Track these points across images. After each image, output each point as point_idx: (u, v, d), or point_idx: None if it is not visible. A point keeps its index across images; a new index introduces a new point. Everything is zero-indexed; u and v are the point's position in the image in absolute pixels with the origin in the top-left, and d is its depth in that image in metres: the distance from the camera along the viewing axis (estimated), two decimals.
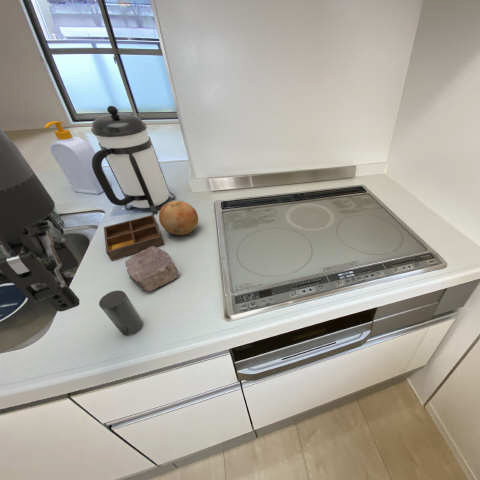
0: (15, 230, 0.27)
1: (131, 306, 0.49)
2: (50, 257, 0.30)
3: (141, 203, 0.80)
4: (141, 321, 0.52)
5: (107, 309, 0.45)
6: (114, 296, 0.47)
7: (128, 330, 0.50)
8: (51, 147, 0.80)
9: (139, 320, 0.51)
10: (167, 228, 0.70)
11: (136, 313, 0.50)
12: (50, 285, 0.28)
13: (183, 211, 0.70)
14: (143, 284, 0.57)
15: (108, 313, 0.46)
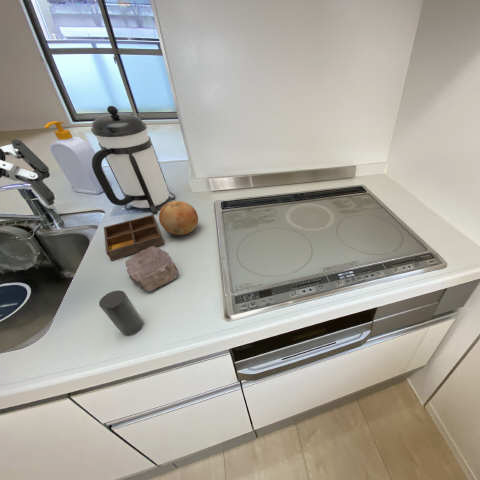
0: None
1: (131, 306, 0.49)
2: None
3: (141, 203, 0.80)
4: (141, 321, 0.52)
5: (107, 309, 0.45)
6: (114, 296, 0.47)
7: (128, 330, 0.50)
8: (51, 147, 0.80)
9: (139, 320, 0.51)
10: (167, 228, 0.70)
11: (136, 313, 0.50)
12: None
13: (183, 211, 0.70)
14: (143, 284, 0.57)
15: (108, 313, 0.46)
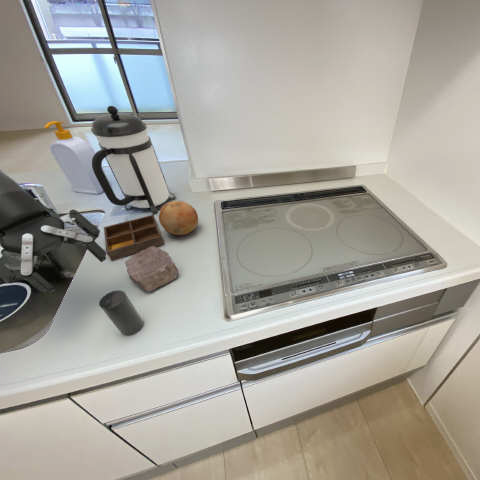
0: None
1: (131, 306, 0.49)
2: None
3: (141, 203, 0.80)
4: (141, 321, 0.52)
5: (107, 309, 0.45)
6: (114, 296, 0.47)
7: (128, 330, 0.50)
8: (52, 147, 0.80)
9: (139, 320, 0.51)
10: (167, 228, 0.70)
11: (136, 313, 0.50)
12: None
13: (183, 211, 0.70)
14: (143, 284, 0.57)
15: (108, 313, 0.46)
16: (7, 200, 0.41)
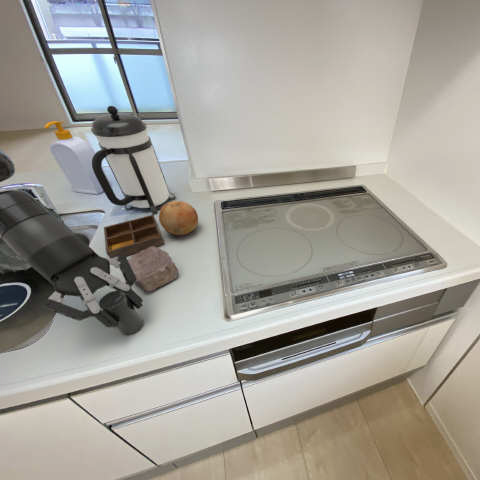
0: None
1: (131, 306, 0.49)
2: None
3: (141, 203, 0.80)
4: (141, 321, 0.52)
5: (107, 309, 0.45)
6: (114, 296, 0.47)
7: (128, 330, 0.50)
8: (52, 147, 0.80)
9: (139, 320, 0.51)
10: (167, 228, 0.70)
11: (136, 313, 0.50)
12: None
13: (183, 211, 0.70)
14: (143, 284, 0.57)
15: (108, 313, 0.46)
16: (61, 246, 0.43)
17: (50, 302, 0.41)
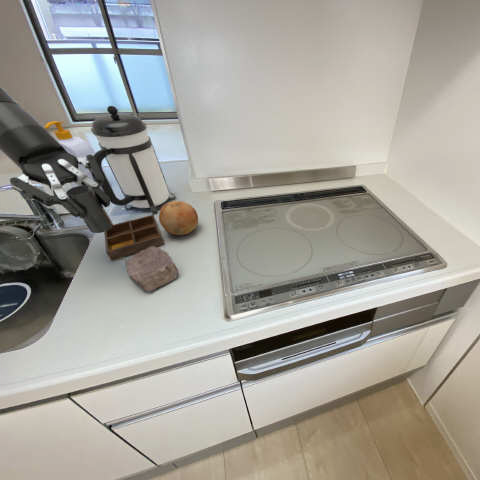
0: None
1: (98, 202, 0.52)
2: None
3: (141, 203, 0.80)
4: (110, 222, 0.55)
5: (73, 196, 0.48)
6: (81, 188, 0.50)
7: (96, 226, 0.53)
8: None
9: (107, 219, 0.54)
10: (167, 228, 0.70)
11: (104, 211, 0.53)
12: None
13: (183, 211, 0.70)
14: (143, 284, 0.57)
15: (75, 202, 0.49)
16: (28, 131, 0.46)
17: (17, 180, 0.44)
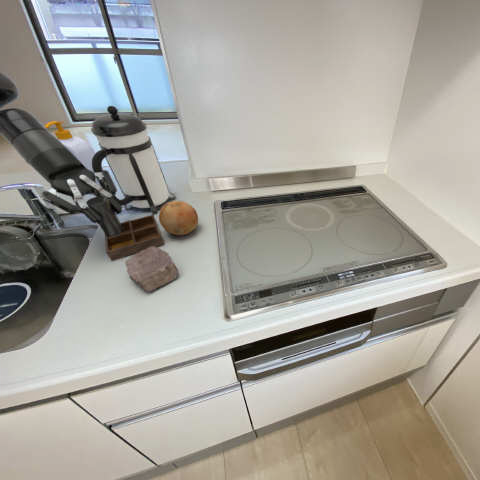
0: None
1: (112, 210, 0.62)
2: None
3: (141, 203, 0.80)
4: (121, 226, 0.65)
5: (92, 205, 0.58)
6: (98, 199, 0.60)
7: (110, 230, 0.63)
8: None
9: (119, 224, 0.64)
10: (167, 228, 0.70)
11: (117, 217, 0.64)
12: None
13: (183, 211, 0.70)
14: (143, 284, 0.57)
15: (93, 210, 0.59)
16: (57, 153, 0.56)
17: (48, 193, 0.54)
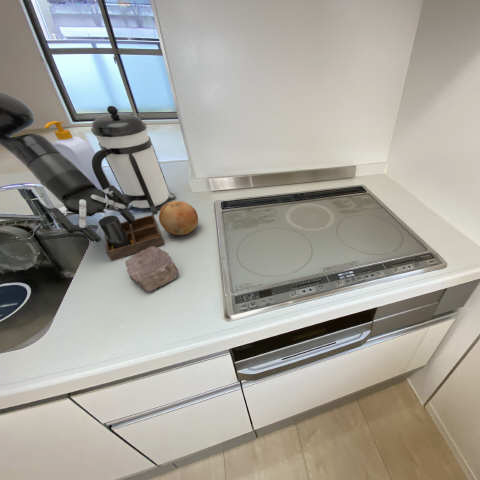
0: None
1: (122, 228, 0.66)
2: (106, 204, 0.66)
3: (141, 203, 0.80)
4: (130, 243, 0.69)
5: (104, 225, 0.62)
6: (109, 218, 0.64)
7: None
8: None
9: (128, 241, 0.68)
10: (167, 228, 0.70)
11: (126, 235, 0.67)
12: None
13: (183, 211, 0.70)
14: (143, 284, 0.57)
15: (105, 229, 0.63)
16: (70, 175, 0.59)
17: (57, 210, 0.57)
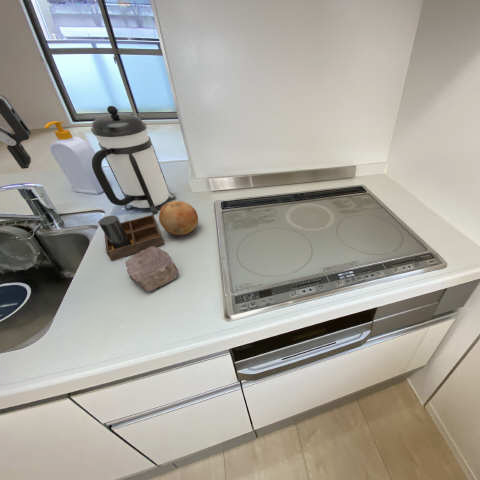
0: None
1: (122, 228, 0.66)
2: None
3: (141, 203, 0.80)
4: (130, 243, 0.69)
5: (104, 225, 0.62)
6: (109, 218, 0.64)
7: None
8: (52, 147, 0.80)
9: (128, 241, 0.68)
10: (167, 228, 0.70)
11: (126, 235, 0.67)
12: (24, 124, 0.41)
13: (183, 211, 0.70)
14: (143, 284, 0.57)
15: (105, 229, 0.63)
16: None
17: None
